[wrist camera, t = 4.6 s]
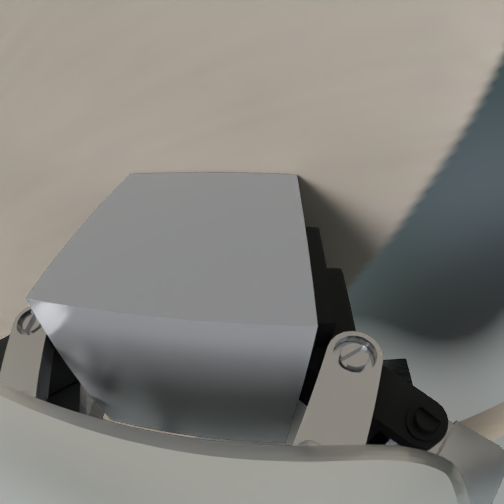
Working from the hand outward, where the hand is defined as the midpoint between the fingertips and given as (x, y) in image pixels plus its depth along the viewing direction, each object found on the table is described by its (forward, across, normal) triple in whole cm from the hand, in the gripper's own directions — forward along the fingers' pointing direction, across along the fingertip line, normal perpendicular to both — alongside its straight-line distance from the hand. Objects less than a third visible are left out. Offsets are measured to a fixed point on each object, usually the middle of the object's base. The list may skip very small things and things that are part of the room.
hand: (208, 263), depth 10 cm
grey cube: (+1, 0, 0) cm, 1 cm away
